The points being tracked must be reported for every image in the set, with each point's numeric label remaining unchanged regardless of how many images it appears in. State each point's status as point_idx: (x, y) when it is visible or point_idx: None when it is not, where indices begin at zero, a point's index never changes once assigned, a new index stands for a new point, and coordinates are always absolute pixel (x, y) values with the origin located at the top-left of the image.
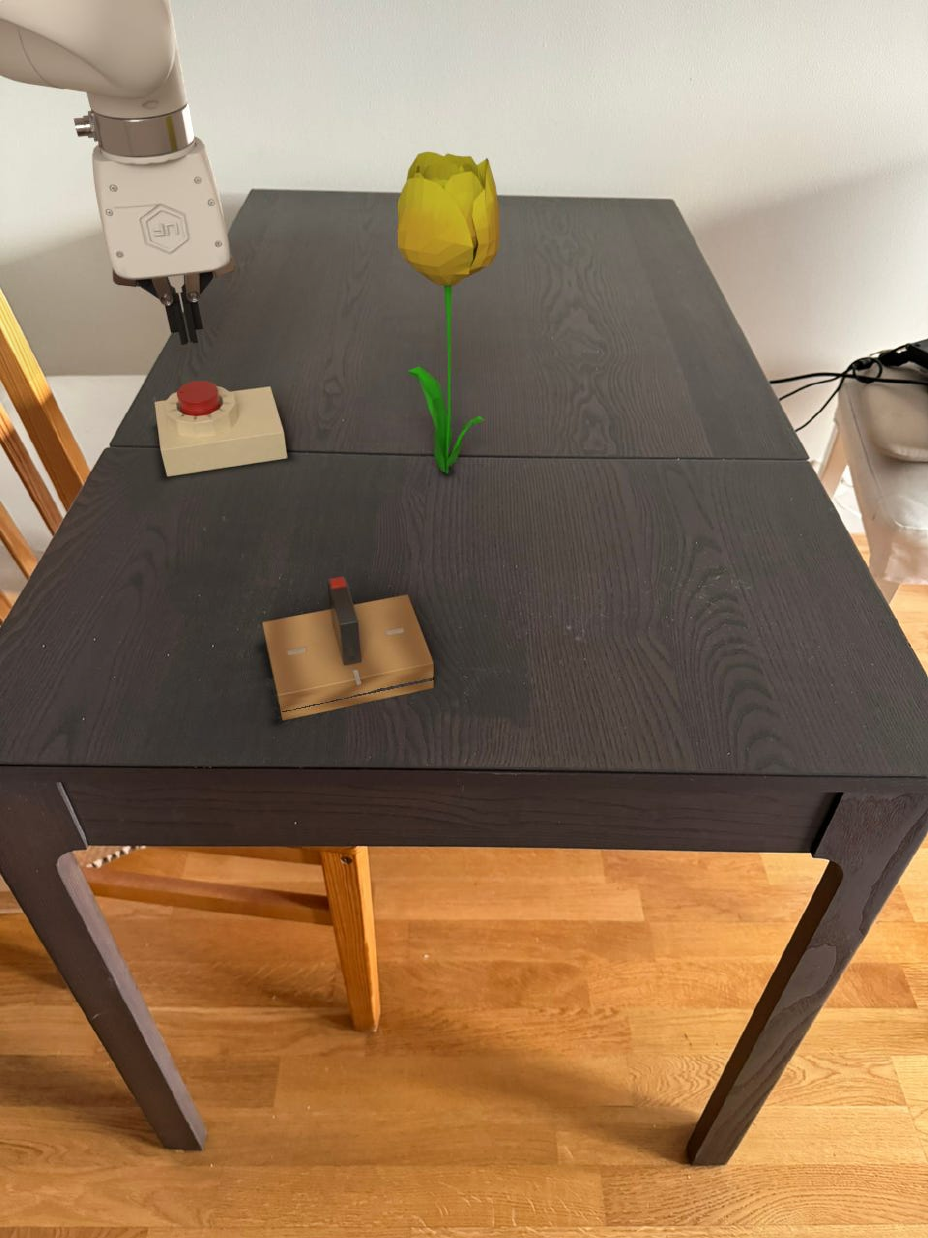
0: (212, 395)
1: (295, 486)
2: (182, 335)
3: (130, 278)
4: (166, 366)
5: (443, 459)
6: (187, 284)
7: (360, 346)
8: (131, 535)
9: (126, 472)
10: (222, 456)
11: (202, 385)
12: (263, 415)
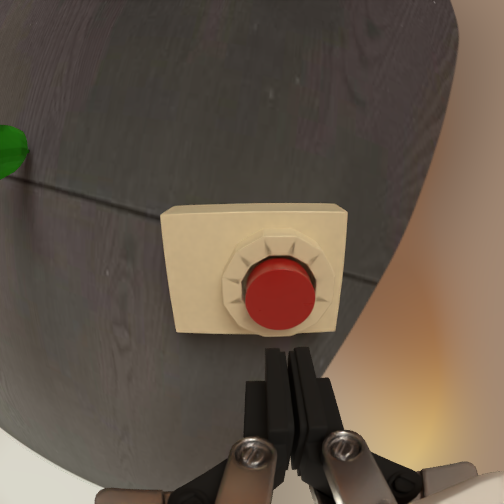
0: (256, 283)
1: (170, 141)
2: (304, 360)
3: (486, 476)
4: None
5: (12, 127)
6: (266, 489)
7: (104, 387)
8: (381, 100)
9: (378, 228)
10: (259, 206)
11: (269, 316)
12: (187, 265)
